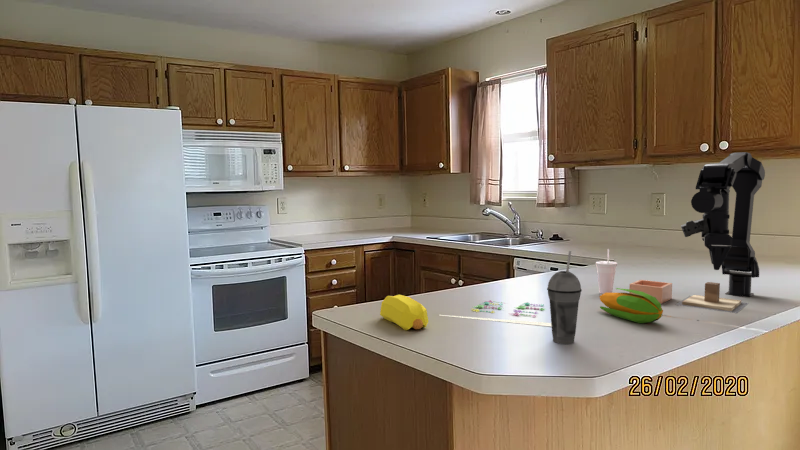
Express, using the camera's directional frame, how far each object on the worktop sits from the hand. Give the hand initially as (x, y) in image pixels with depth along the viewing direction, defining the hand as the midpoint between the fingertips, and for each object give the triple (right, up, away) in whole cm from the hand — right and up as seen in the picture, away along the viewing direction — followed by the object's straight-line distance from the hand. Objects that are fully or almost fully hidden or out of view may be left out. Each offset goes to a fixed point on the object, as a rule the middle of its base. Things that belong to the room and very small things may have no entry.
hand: (715, 266), depth 147 cm
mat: (+1, -11, +3) cm, 11 cm away
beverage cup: (-50, -14, -29) cm, 60 cm away
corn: (-28, -13, -9) cm, 32 cm away
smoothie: (-22, -10, +21) cm, 32 cm away
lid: (+1, -11, +3) cm, 11 cm away
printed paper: (-57, -13, +3) cm, 58 cm away
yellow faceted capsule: (-86, -14, -12) cm, 88 cm away
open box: (-13, -11, +10) cm, 20 cm away
